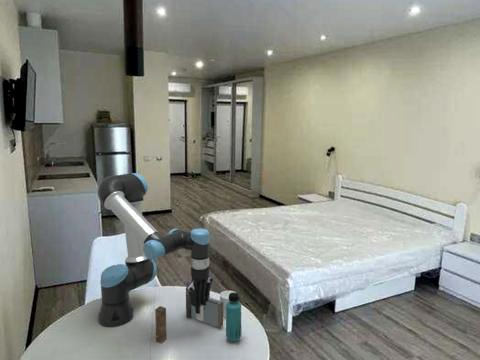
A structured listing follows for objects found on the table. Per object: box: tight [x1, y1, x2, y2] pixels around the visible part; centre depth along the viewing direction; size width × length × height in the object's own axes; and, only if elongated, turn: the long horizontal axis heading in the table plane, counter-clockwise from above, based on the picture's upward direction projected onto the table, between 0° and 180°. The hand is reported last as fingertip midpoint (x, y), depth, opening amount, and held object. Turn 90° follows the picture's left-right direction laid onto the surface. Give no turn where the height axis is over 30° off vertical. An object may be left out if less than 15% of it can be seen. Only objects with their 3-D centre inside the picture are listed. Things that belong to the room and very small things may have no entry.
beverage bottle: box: [225, 292, 242, 342], centre depth 139 cm, size 6×7×20 cm
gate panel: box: [191, 297, 224, 329], centre depth 151 cm, size 16×2×12 cm, turn 59°
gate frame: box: [154, 286, 211, 344], centre depth 154 cm, size 3×38×14 cm, turn 154°
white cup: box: [219, 290, 237, 319], centre depth 159 cm, size 8×8×10 cm
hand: (199, 319), depth 144 cm, fingers closed
